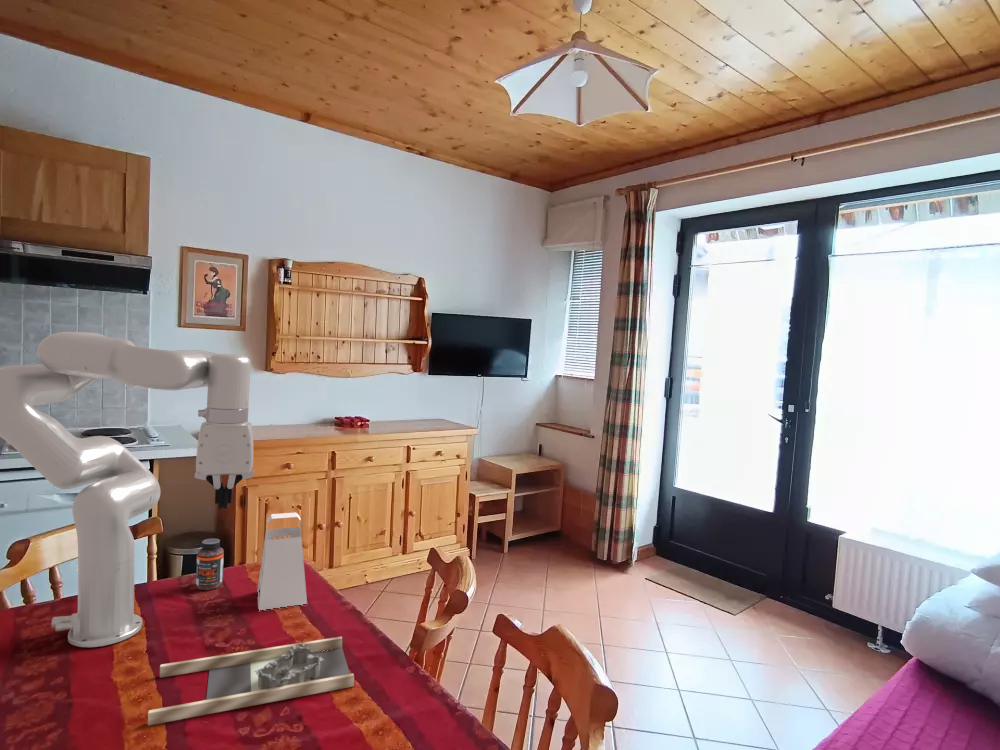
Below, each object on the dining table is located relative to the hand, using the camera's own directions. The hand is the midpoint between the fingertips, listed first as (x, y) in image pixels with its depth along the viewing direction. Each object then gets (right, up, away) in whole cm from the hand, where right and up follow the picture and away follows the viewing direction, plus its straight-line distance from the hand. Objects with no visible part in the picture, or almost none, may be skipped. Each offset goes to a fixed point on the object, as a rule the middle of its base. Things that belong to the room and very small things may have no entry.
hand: (223, 506), depth 116 cm
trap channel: (+12, -29, -11) cm, 33 cm away
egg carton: (+17, -29, -11) cm, 36 cm away
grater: (+4, -27, +22) cm, 35 cm away
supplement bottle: (-16, -26, +26) cm, 40 cm away
